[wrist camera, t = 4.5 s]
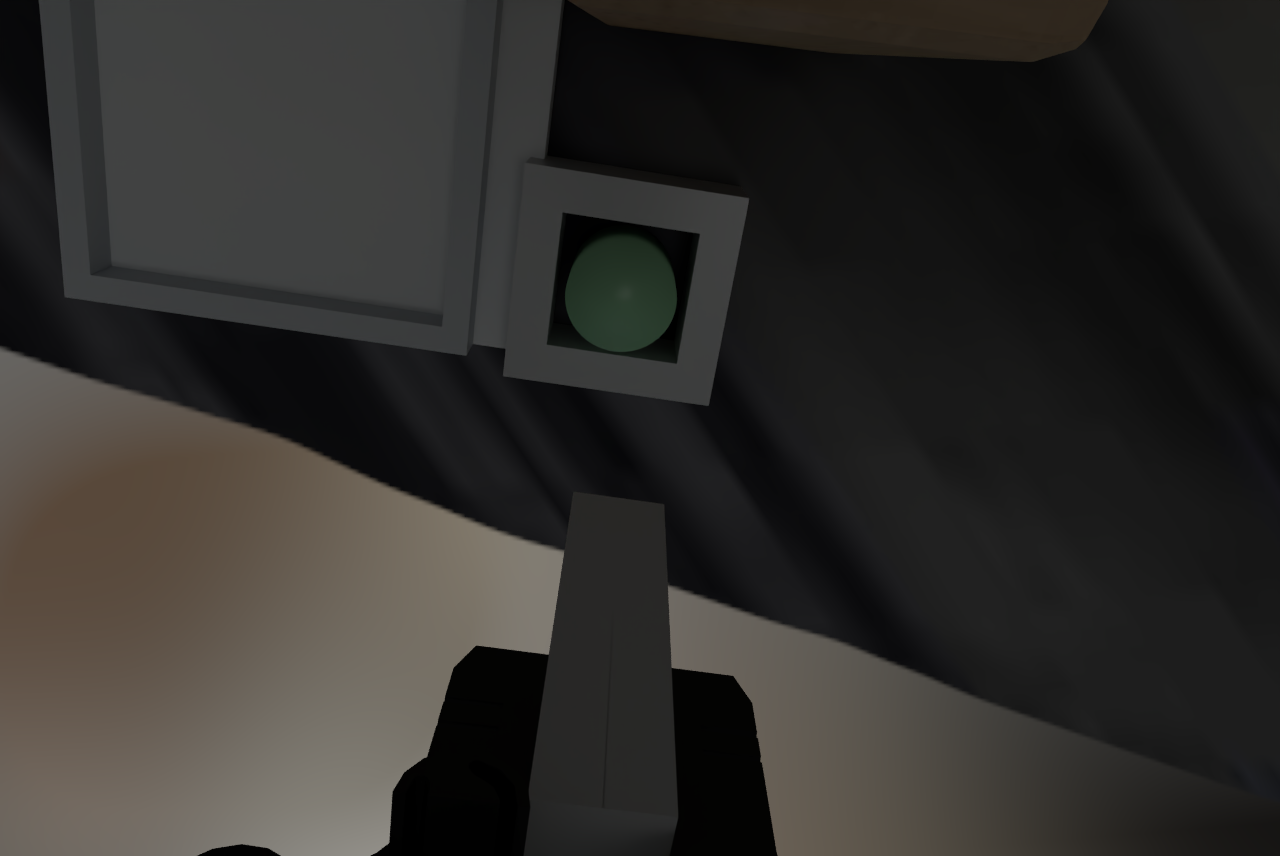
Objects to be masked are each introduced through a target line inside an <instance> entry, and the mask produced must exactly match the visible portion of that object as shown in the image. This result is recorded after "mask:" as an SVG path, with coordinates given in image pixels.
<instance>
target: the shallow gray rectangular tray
mask: <svg viewBox="0 0 1280 856" xmlns="http://www.w3.org/2000/svg"><path fill="white" fill-rule="evenodd" d="M564 2H565V0H39V6H40V18H41V29H42V41H43V52H44V64H45V75H46V87H47V98H48V110H49V121H50V133H51V144H52V155H53V167H54V178H55V190H56V201H57V213H58V224H59V236H60V247H61V259H62V270H63V282H64V293H65V297H68V298H75V299H81V300H88V301H95V302H102V303H109V304H116V305H123V306H129V307H136V308H143V309H150V310H157V311H164V312H171V313H178V314H184V315H191V316H198V317H205V318H212V319H219V320H226V321H232V322H239V323H246V324H253V325H260V326H267V327H274V328H280V329H287V330H294V331H301V332H308V333H315V334H322V335H328V336H335V337H342V338H349V339H356V340H363V341H370V342H376V343H383V344H390V345H397V346H404V347H411V348H418V349H424V350H431V351H438V352H445V353H452V354H459V355H467V354H468V352H469V350H470V348H471V346H472V345H473V344H477V345H484V346H491V347H498V348H505V349H506V343H507V334H508V324H509V314H510V305H511V295H512V285H513V276H514V266H515V256H516V247H517V237H518V227H519V218H520V208H521V198H522V189H523V179H524V170H525V162H526V161H527V160H528V159H529V158H530V157H534V158H540V159H545V158H546V156H547V153H548V144H549V135H550V127H551V118H552V109H553V100H554V91H555V82H556V73H557V64H558V55H559V46H560V37H561V29H562V20H563V11H564Z"/></svg>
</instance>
